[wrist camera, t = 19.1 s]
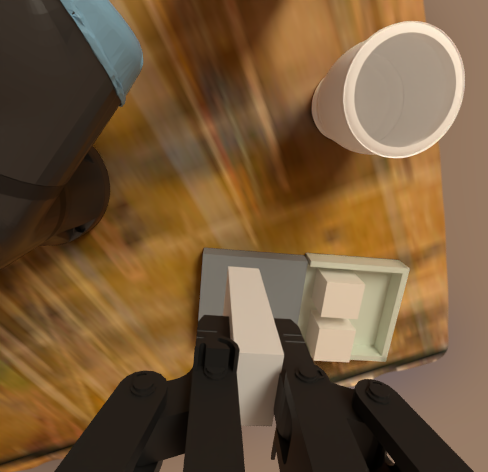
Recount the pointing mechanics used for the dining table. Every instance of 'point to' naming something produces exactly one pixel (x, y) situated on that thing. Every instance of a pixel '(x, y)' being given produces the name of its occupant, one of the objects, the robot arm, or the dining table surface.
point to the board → (272, 272)
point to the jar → (392, 92)
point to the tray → (363, 300)
